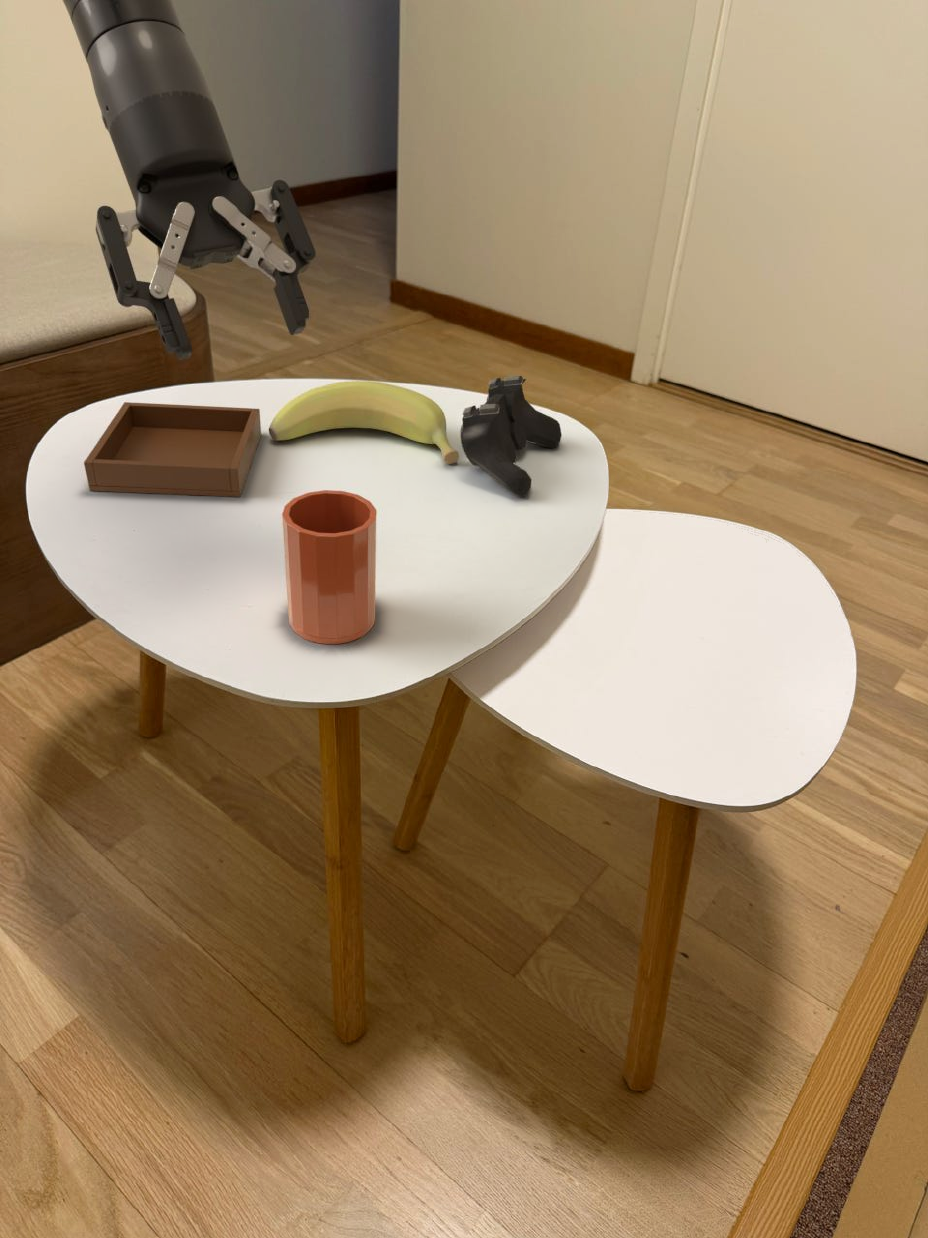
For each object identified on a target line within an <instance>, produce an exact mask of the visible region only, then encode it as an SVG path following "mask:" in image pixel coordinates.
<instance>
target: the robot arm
mask: <svg viewBox="0 0 928 1238" xmlns="http://www.w3.org/2000/svg"><path fill="white" fill-rule="evenodd" d="M62 3H63V5H64V7H65V8H66V11H67V13H68V15H69V18H70V21H71V24H72V26H73V30H74V32H75V34H76V37H77V39H78V42H79V44H80V48H81V50H82V54H83V56H84V59H85V61H86V64H87V66H88V70H89V73H90V77H91V82H92V86H93V91H94V94H95V97H96V100H97V104H98V107H99V110H100V112H101V119H102V123H103V124H104V128H105V130H107V132H108V134H109V137H110V140H111V142H112V144H113V147H114V150H115V153H116V155H117V157H118V161H119V163H120V166H121V168H122V171H123V174H124V176H125V179H126V182H127V185H128V187H129V190H130V193H131V196H132V198H133V200H134V203H135V209H134V210H123V211H116V210H115V209H114V208H113V207H111V206H109V205H101V206H100V207H98V208H97V211H96V220H95V233H96V237H97V239H98V242H99V245H100V249H101V252H102V255H103V259H104V262H105V264H106V268H107V271H108V275H109V277H110V278H109V279H110V281H111V284H112V287H113V290H114V294H115V296H116V300H117V302H118V304H120V306H122V307H124V308H130V307H132V306H136V307H141V308H145V309H146V310H148V311H149V312H150V313H151V316H152V318H153V320H154V324H155V326H156V329H157V332H158V334H159V337H160V339H161V342H162V345H163V347H164V349H165V350H166V352H168V353H169V354H170V355H172V354H175V355H176V357H177V360H178V361H183V360H188V359H191V356H192V354H193V347H192V344H191V341H190V338H189V335H188V333H187V330H186V328H185V325H184V323H183V319H182V316H181V314H180V311H179V309H178V306H177V304H176V303H177V302H176V301H175V298H174V297H171V298H170V296H169V292H170V289H171V286H172V283H173V281H174V277H175V274H176V272H177V268H178V265H182V266H184V267H187V268H189V269H190V270H196V269H201V268H203V267H205V266H207V265H209V264H219V265H220V264H221V265H223V264H228V263H233V261H234V259H235V258H238V259H239V260H241V261H242V262H243V263H244V264H246V265H247V266H248V267H249V268H251V269H254V270H258V271H259V272H260V273H262V274H263V275H264V276H266V277H267V278H268V279H269V280H271V281H272V282H273V283H274V284H275V285H274V287H273V291H274V294H275V297H276V300H277V302H278V306H279V309H280V311H281V314H282V317H283V320H284V322H285V324H286V327H287V331H288V334H290V335H291V336H295V335H299V334H302V332H303V331H304V330H305V329H306V326H307V321H308V320H309V319H310V309H309V306H308V303H307V301H306V298H305V295H304V292H303V290H302V286H301V284H300V281H299V278H298V277H299V276H298V275H300V274H304V273H305V272H306V271H307V270H308V268H309V266H310V264H311V262H313V260H314V259H315V257H316V254H317V252H316V249H315V246H314V244H313V242H312V239H311V237H310V234H309V232H308V229H307V227H306V224H305V222H304V219H303V217H302V215H301V213H300V210H299V208H298V205H297V204H296V201H295V198H294V196H293V194H292V191H291V188H290V186H289V184H288V183H287V182H286V181H285V180H282V179H277V180H275V181H274V182H273V183H272V185H271V187H268V188H263V189H259V190H255V191H254V190H253V191H250V190H249V188H248V187H246V185H245V184H244V182H243V180H242V179H241V177H240V174H239V170H238V168H237V164H236V162H235V159H234V156H233V153H232V150H231V148H230V145H229V142H228V139H227V136H226V134H225V131H224V128H223V125H222V123H221V120H220V117H219V114H218V111H217V109H216V106H215V102H214V100H213V98H212V95H211V94H212V93H211V92H210V88H209V86H208V83H207V81H206V78H205V75H204V72H203V70H202V68H201V65H200V64H199V62H198V60H197V57H196V56H195V54H194V52H193V50H192V48H191V46H190V43H189V41H188V38H187V37H186V34H185V31H184V28H183V25H182V22H181V20H180V17H179V14H178V11H177V8H176V5H175V3H174V0H62ZM255 211H257V212H260V213H261V214H262V215H263V217H264V218H265V219H266V221H267V222H270V223H273V225H274V227H275V230H276V232H277V235H278V237H279V239H280V241H281V244H282V246H283V249H284V250H283V249H281V248H280V247H279V246H278V245H276V244H275V243H274V242H273V239H272V237H271V236H270V235H269V234H268V233H267V232H265V231H264V230H263V229H262V228H260V227H259V226H258V225H257V224H256V223H254V222H253V221H252V220H253V216H254V213H255ZM136 230H137V231H139V233H140V234H141V235H142V236H143V237H145V238H146V239H148V241H150V242H151V243H152V244H154V245H155V246H156V247H158V248H159V249H160V250H161V251H160V253H159V254H160V255H159V256H158V259H157V260H158V261H157V263H156V267H155V269H154V273H153V275H152V278H151V281H150V282H149V281H142V280H137V276H136V273H135V270H134V267H133V263H132V260H131V257H130V254H129V250H128V247H130V245H131V244H132V242H133V241H132V240H133V232H134V231H136Z"/></svg>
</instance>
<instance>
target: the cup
mask: <svg viewBox="0 0 928 1238" xmlns="http://www.w3.org/2000/svg"><path fill="white" fill-rule="evenodd" d="M377 513H378V512H377V509H376V507H375V506H374V504H373V503H372V502H371V501H370V500H368V499H366V498H365V497H363V496H361V495H359V494H357V493H352V492H348V491H344V490H331V489H330V490H329V489H328V490H327V489H325V490H324V489H323V490H317V491H311V492H310V491H309V492H306V493H303V494H301V495H298V496H295V497H293V498H292V499H291V500H289V502H287V504H285V505H284V507H283V511H282V515H281V516H282V517H281V518H282V534H283V549H284V551H283V552H284V569H285V583H286V585H285V586H286V600H287V601H286V603H287V616H288V622H289V626H290V627H291V629H292V631H294V632H295V633H296V634H297V635H298V636H299V637H301V638H303V639H305V640H306V641H310V642H312V643H317V644H321V645H323V644H324V645H337V644H339V645H340V644H346V643H350V642H352V641H356V640H358V639H360V638H362V637H363V636H365V635H366V634H367V633H368V632H370V630H372V629H373V626H374V624H375V622H376V600H377V599H376V595H377V594H376V593H377V592H376V587H377V518H378V517H377Z"/></svg>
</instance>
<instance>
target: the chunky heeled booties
mask: <svg viewBox="0 0 928 1238" xmlns="http://www.w3.org/2000/svg"><path fill="white" fill-rule="evenodd" d="M526 380H527V378H524V377H523V376H522V375H511V376H510V375H508V376H505V377H504V380H502V379H501V377H498V378H494V379H490V380H489V383H488V390H487V391H488V395H487V397H486V401H485V403H483V404H480V405H479V407H478V408H477V406H476V405H475V404H474V405H471V406H468V407H465V408H463V412H462V419H461V421H462V424H461V427H460V443H461V446H462V450H463V453H464V454H465V458H466V459H467V460H468V461H469V463H470V464H471V465H473V466H475V467H478V468H479V469H481V470H482V471H483V472H484V473H485V474H487V475H488V476H489V477H491V478H492V479H493V480H495V481H496V482H497V483H499V484H500V486H503V487H504V488H505V489H506V490H508V491H509V492H510V493H512V494H514V495H516V496H517V497H519V498H522V497H526V496H527V495H528V494H529V492H530V490H531V489H532V478H531V477H530V475H529V473H528V472H527V471H526V470H525V469H523V468H522V467H520V466H518V465H517V464H515V463H516V461H517V451H520V450H523V449H526V448H527V444H528V443H532V444H535V445H538V446H541V447H545V448H548V449H555V448H557V447H559V444H560V443H561V440H562V429H561V425H560V423H559V421H558V420H557V419H555V418H554V417H552V416H549V415H547V414H545V413H543V412H540V411H538V410H536V409H535V408H534V407H533V406H532V405H531V404H530V403H529V402H528V401H527V400H526V398H525V394H524V389H523V384H524V383H525V382H526Z"/></svg>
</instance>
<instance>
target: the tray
mask: <svg viewBox="0 0 928 1238" xmlns="http://www.w3.org/2000/svg"><path fill="white" fill-rule="evenodd" d="M260 411H261V409H260V408H251V407H228V406H209V405H189V404H171V403H169V404H167V403H150V402H147V403H146V402H129V401H125V402H123V403H122V405H121V407H120V408H119V409H118V411H117V413H116V414H115V416H114V417H113V418H112V420H111V421H110V422H109V424H108V426H107V427H106V429H105V430H104V432H103V434H101V436H100V438H99V439H98V440H97V443H96V444H95V445H94V446H93V448H92V449H91V451H90V452H89V454H88V455H87V457H86V459H85V460H84V462H83V465H84V470H85V475H86V480H87V483H88V489H89V491H90V492H112V493H113V492H114V493H137V494H159V495H160V494H161V495H184V496H209V497H231V498H232V497H234V498H240V497H241V495H242V492H243V489H244V487H245V483H246V480H247V478H248V475H249V472H250V468H251V466H252V463H253V460H254V457H255V455H256V451H257V448H258V445H259V442H260V439H261V436H262V423H261V412H260Z"/></svg>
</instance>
